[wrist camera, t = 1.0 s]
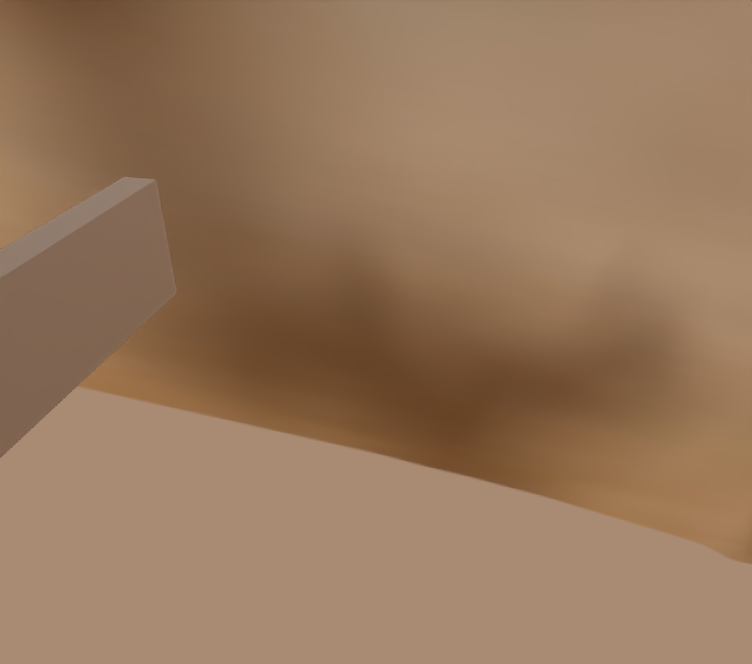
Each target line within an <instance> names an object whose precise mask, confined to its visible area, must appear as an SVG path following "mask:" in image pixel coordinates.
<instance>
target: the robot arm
mask: <svg viewBox="0 0 752 664" xmlns="http://www.w3.org/2000/svg"><path fill="white" fill-rule="evenodd" d="M175 294H177V288H176V283H175V278H174V272H173V267H172V262H171V256H170V251H169V246H168V240H167V235H166V230H165V224H164V219H163V214H162V208H161V203H160V198H159V192H158V187H157V182H156V179H145V178H133V177H123V178H122V179H120V180H118V181H117V182H115V183H113V184H111V185H110V186H108V187H106V188H105V189H103V190H101V191H99V192H98V193H96V194H94V195H93V196H91V197H89V198H87V199H86V200H84V201H82V202H81V203H79V204H77V205H75V206H74V207H72V208H70V209H69V210H67V211H65V212H64V213H62V214H60V215H58V216H57V217H55V218H53V219H52V220H50V221H48V222H46V223H45V224H43V225H41V226H40V227H38V228H36V229H34V230H33V231H31V232H29V233H28V234H26V235H24V236H22V237H21V238H19V239H17V240H16V241H14V242H12V243H10V244H9V245H7V246H5V247H4V248H2V249H0V458H1V457H2V456H3V455H4V454H5V453H6V452H7V451H8V450H9V449H10V448H12V447H13V446H14V445H15V444H16V443H17V442H18V441H19V440H20V439H21V438H22V437H23V436H24V435H26V434H27V433H28V432H29V431H30V430H31V429H32V428H33V427H34V426H35V425H36V424H37V423H38V422H39V421H40V420H42V419H43V418H44V417H45V416H46V415H47V414H48V413H49V412H50V411H51V410H52V409H53V408H54V407H55V406H57V404H59V403H60V402H61V401H62V400H63V399H64V398H65V397H66V396H67V395H68V394H69V393H71V392H72V390H74V389H75V388H76V387H77V386H78V385H79V384H80V383H81V382H82V381H83V380H84V379H86V378H87V377H88V376H89V375H90V374H91V373H92V372H93V371H94V370H95V369H96V368H97V367H98V366H99V365H101V364H102V363H103V362H104V361H105V360H106V359H107V358H108V357H109V356H110V355H111V354H112V353H113V352H114V351H116V350H117V349H118V348H119V347H120V346H121V345H122V344H123V343H124V342H125V341H126V340H127V339H128V338H129V337H130V336H132V335H133V334H134V333H135V332H136V331H137V330H138V329H139V328H140V327H141V326H142V325H143V324H144V323H145V322H147V321H148V320H149V319H150V318H151V317H152V316H153V315H154V314H155V313H156V312H157V311H158V310H159V309H160V308H162V307H163V306H164V305H165V304H166V303H167V302H168V301H169V300H170V299H171V298H172V297H173V296H174V295H175Z"/></svg>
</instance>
